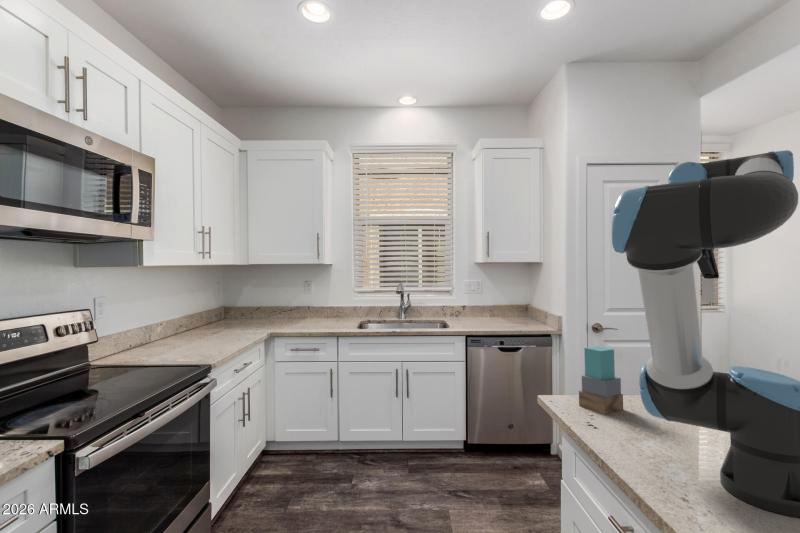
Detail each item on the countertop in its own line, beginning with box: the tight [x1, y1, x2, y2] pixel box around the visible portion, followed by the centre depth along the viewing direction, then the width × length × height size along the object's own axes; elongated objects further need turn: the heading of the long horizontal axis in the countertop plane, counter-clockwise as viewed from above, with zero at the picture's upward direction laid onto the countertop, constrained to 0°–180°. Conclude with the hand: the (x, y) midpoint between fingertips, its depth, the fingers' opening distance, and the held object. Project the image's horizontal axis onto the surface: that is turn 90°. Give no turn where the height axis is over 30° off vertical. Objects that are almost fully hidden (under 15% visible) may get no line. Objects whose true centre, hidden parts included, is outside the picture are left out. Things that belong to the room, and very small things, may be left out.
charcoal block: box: [581, 374, 622, 398], centre depth 125 cm, size 8×8×5 cm
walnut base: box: [578, 389, 624, 415], centre depth 125 cm, size 9×9×5 cm
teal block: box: [583, 345, 616, 380], centre depth 126 cm, size 6×6×9 cm
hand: (696, 303), depth 104 cm, fingers open, 13 cm apart
